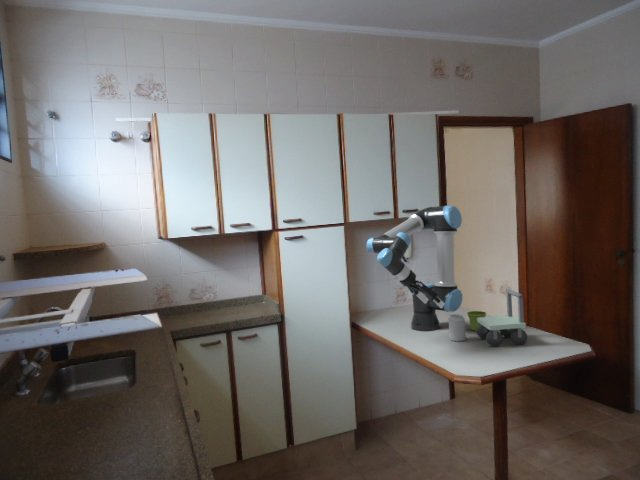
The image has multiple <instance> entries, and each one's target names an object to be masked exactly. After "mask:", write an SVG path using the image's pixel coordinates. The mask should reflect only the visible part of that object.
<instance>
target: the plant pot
mask: <svg viewBox="0 0 640 480" xmlns="http://www.w3.org/2000/svg"><path fill="white" fill-rule="evenodd" d="M466 315H467V316H468V319H469V325H470V330H471V331H475V332H477V328H478V327H479V326H480V325H481V324H480V323H478V322H477V318H481V317H487V316H486V315H487V312H486V311H481V310H471V311H468V312H466Z"/></svg>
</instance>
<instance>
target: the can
mask: <svg viewBox="0 0 640 480" xmlns="http://www.w3.org/2000/svg"><path fill="white" fill-rule="evenodd" d="M447 319H448V332H449V333H448V334H449V335H448V336H449V339H450V340H451V341H452V342H455V341H456V342H457V343H459V342H464V341H465V340H466V339H467V337H466V323H465V317H464V315H463V314H460V313H459V314H458V313H456V314H450V315H449V318H447Z"/></svg>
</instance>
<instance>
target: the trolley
mask: <svg viewBox="0 0 640 480" xmlns="http://www.w3.org/2000/svg"><path fill="white" fill-rule="evenodd" d="M505 293H506V308H507V315H498V316H497V315H496V316H495V315H493V316H485V317H481V318H477V322H478V323H480V324H481V325H480V326H479V327H478V328H477V331H476V335H477V336H478V337H479V338H480V339H482V340H486V342H487V343H486V344H488V345H489V346H491V347H493V348H498V347H499V346H501V345H502V344H503V341H504V338H506V339H507V338H508V339H510V341H511V342H512V344H513V343H514V344H515V345H517V346H522V345H524V344H525V343H526V342H527V341H528V333H527V331H526V330H523V329H524V328H525V329H526V325H527V323H526V322H525V318H524V316H525V314H524V298H523V297H524V295H523V294H522V293H520V292H518V291H515V290H513V289H509V288H507V289H506V290H505ZM512 296H514V297H516V298H517V310H518V315H517V316H518V318H517V317H515V316H513V301H512ZM498 330H499V331H498Z"/></svg>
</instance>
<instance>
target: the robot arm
mask: <svg viewBox="0 0 640 480" xmlns="http://www.w3.org/2000/svg"><path fill="white" fill-rule="evenodd" d="M462 222H463V219H462V214H461V211H460V210H459V208H458V207H457V206H454V205H440V206H429V207H425V208H423V209H420V210H418V211H417V212H415V213H413V214H411V215H410V216H409V217H408V218H407V220H405V221H403V222H401V223H399V224H398V225H397V226H395V227H393V228H391V229H389V230H387V231H386V232H385V233H383V234H381V235H380V236H377V237H370V238H369V239H368V240H367V241H366V249H367V251H368V252H369V253H373V254H378V255H377V257H376V259H377V262H378V263H379V264H380V265H381V266H382V267H383V268H384V269H385V270H386V271H388V272H389V273H390V274H391V275H392V276H393V277H394V279H395V280H397V281H399V283H400V284H401V285H402V286H404V287H406V288H407V289H408V290H409V292H410V293H411V295H412V297H411V298H412V307H413V310H412V311H413V314H412V318H411V322H410V328H411V329H413V330H415V331H421V332H422V331H424V332H425V331H427V332H428V331H429V332H430V331H435V330H438V329H440V327H441V325H440V320H439V317H438V315H437V313H436V311H443V312H449V313H450V312H452V313H454V312H456V311H458V310H459V309H460V307H461V305H462V303H463V293H462V291H461V290H460V289H459V288H458V284H457V283H456V282H455V235H456V233H458V229H460V227H461V225H462ZM423 230H433V233H434V234H435V235H436V282H435V283H434V284H433V283H426V284H424V283H423V282H422V281H419V280H417V279H416V278H417V273H415V271H413V270H411V268H410V267H409V266H408V265H406V263H404V261H403V260H402V259H403V257H404V256H405V253H407V251H408V249H409V246H410V245H411V243H412V239H411V235H413V234H414V233H419V232H421V231H423Z"/></svg>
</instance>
